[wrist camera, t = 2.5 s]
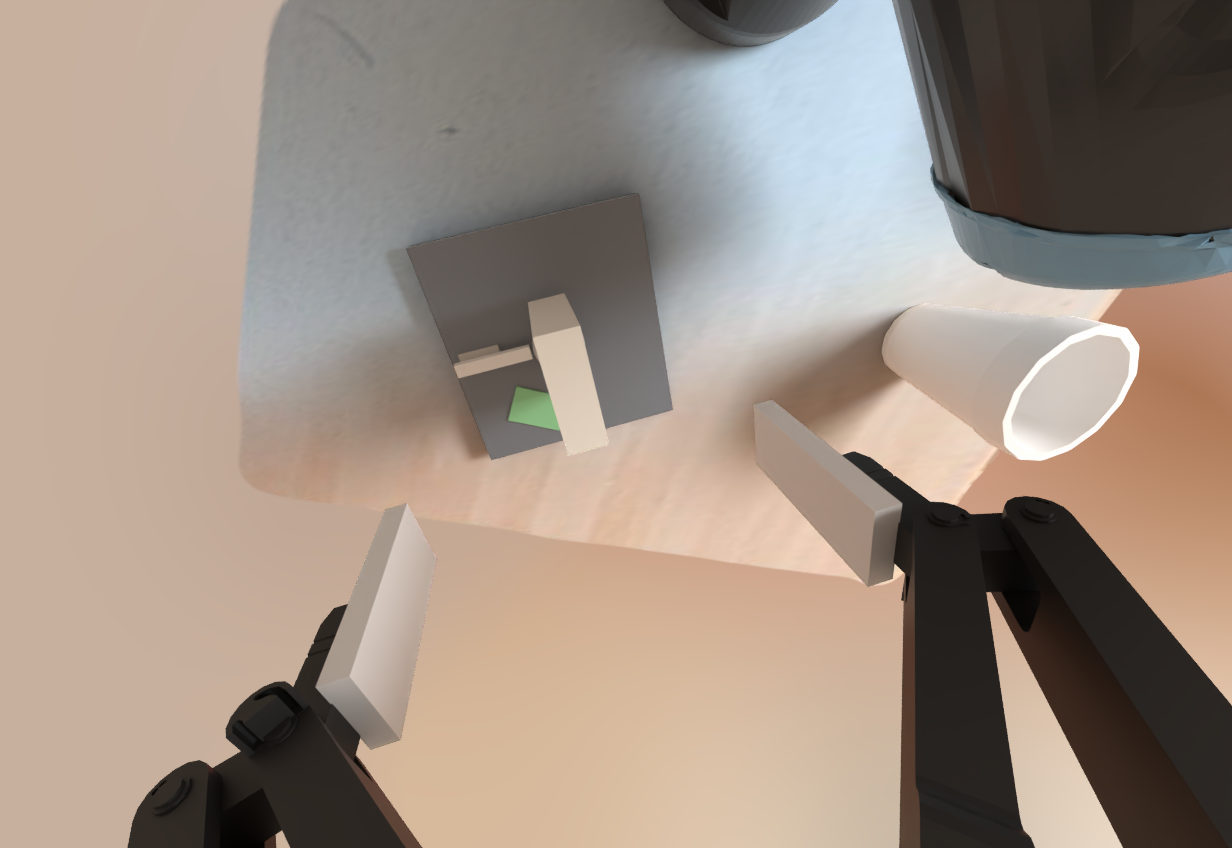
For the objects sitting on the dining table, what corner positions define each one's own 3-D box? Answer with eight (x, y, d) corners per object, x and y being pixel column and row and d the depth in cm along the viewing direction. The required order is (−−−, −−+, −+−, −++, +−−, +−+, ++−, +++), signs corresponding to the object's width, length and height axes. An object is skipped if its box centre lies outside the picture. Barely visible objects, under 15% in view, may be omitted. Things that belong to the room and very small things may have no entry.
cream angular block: (438, 317, 30) (409, 369, 22) (570, 285, 31) (591, 322, 22) (475, 409, 34) (462, 486, 25) (592, 377, 35) (619, 441, 26)
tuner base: (410, 246, 30) (405, 249, 28) (633, 193, 31) (639, 193, 29) (492, 450, 37) (491, 461, 36) (667, 402, 38) (673, 410, 37)
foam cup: (845, 355, 40) (977, 421, 29) (925, 262, 37) (1105, 294, 26) (904, 405, 44) (1042, 480, 32) (980, 323, 41) (1158, 375, 30)
